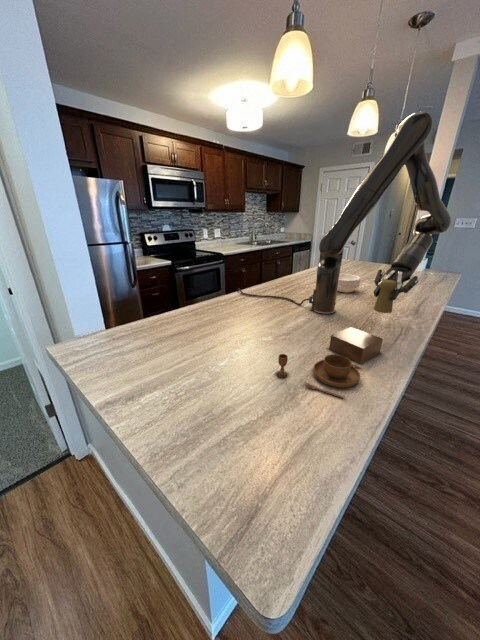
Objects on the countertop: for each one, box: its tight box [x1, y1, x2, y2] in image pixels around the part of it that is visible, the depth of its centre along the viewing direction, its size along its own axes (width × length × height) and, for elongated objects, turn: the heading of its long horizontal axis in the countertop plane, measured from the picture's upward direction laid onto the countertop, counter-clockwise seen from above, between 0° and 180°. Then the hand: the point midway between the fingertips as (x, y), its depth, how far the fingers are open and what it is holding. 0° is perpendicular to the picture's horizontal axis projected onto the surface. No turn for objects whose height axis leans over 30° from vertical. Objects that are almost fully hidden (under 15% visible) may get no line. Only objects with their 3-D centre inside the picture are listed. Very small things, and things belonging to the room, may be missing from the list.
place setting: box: [276, 353, 361, 399], centre depth 72 cm, size 18×20×6 cm
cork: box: [373, 279, 397, 314], centre depth 93 cm, size 6×6×11 cm
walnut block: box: [328, 326, 384, 364], centre depth 83 cm, size 11×11×5 cm
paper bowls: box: [337, 273, 361, 293], centre depth 147 cm, size 15×15×8 cm
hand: (382, 297), depth 92 cm, fingers closed on cork, 5 cm apart
